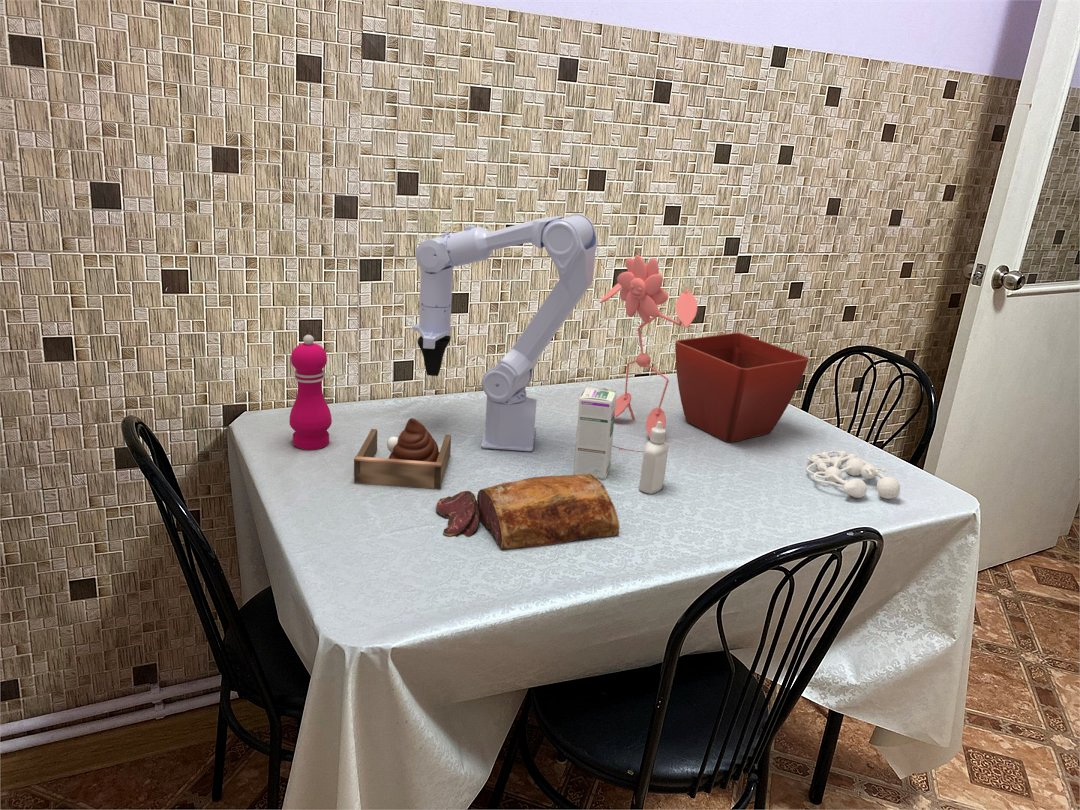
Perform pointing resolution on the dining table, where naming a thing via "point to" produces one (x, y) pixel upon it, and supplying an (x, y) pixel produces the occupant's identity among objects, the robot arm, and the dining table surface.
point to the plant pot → (735, 384)
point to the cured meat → (534, 511)
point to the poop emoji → (413, 444)
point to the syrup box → (595, 432)
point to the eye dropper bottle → (654, 461)
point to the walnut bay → (399, 467)
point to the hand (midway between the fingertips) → (432, 374)
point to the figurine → (647, 319)
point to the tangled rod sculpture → (854, 467)
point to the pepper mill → (309, 397)
